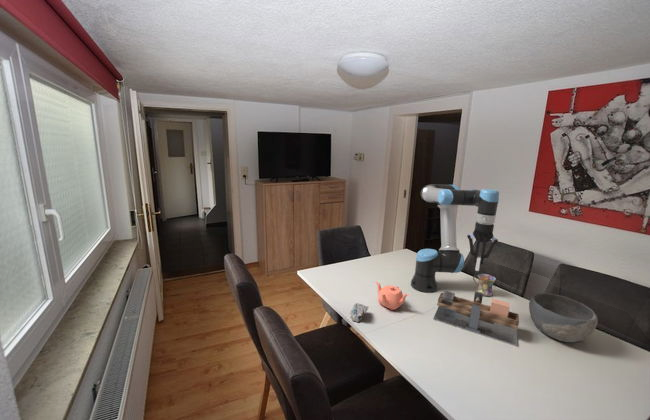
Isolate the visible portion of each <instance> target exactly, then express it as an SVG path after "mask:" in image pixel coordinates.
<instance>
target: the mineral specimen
mask: <svg viewBox="0 0 650 420" xmlns="http://www.w3.org/2000/svg"><path fill="white" fill-rule="evenodd" d="M368 310H369V305H368V306H367V305H364V304H362V303H357V302H356V303H354V305H353V306H352V310H350V318H351V321H352V322H358V323H359V322H360V321H361V320H362V319H363V317H364V314H366V313H367V311H368Z"/></svg>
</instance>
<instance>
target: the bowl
mask: <svg viewBox="0 0 650 420" xmlns="http://www.w3.org/2000/svg"><path fill="white" fill-rule="evenodd" d="M528 309H529V315H530V319H531V321H532V323H533V324H534V326H535V327H536V328H537V329H538V330H540V331H541V332H543V333H544V334H545V335H547V337H550V338H552V339H555V340H557V341H560V342H564V343H575V342H581V341H584V340H586V339H587V338H588V337H589V336H590V335H592V333H593V332H594V330H595V329H596V328H597V325H598V322H599V321H598V316H597V314H596V313H595V311H594V310H593V309H592V308H590V307H589V306H587V305H586V304H584V303H582V302H581V301H578V300H575V299H573V298H571V297H569V296H565V295H561V294H558V293H549V292H540V293H536V294H534V295H532V296H531V298H530V299H529V303H528Z"/></svg>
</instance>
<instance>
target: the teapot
mask: <svg viewBox="0 0 650 420" xmlns="http://www.w3.org/2000/svg"><path fill="white" fill-rule="evenodd" d="M375 283H376V285H377V294H378V296H377V297H378V298H377V301H378V303H379V304H380V305H381V307H385V308H388V309H389V310H390V311H394V310H397V309H398V308H401V306H402V305H403V304H404V303H405V301H406V298H407V296H409V295H410V294H409V293H404V294H403V291H402V289H401V288H400V287H398V286H394V285H391V284H387V285H385V286H383V287H382V286H381V283H379V282H378V281H375Z"/></svg>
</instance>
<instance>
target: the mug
mask: <svg viewBox="0 0 650 420" xmlns="http://www.w3.org/2000/svg"><path fill="white" fill-rule="evenodd" d="M475 277H477V279H478V282H479V283H478V282H477V281H476V280H475ZM472 278H473V281H474V283H475V284H476V285H477V289H476V291H478V292H482V293H483V297H491V296H493V285H494V284H495V282H496V281H497V278H496V277H495V276H493V275H490V274H488V273H478V275H474V276H473V277H472Z"/></svg>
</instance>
